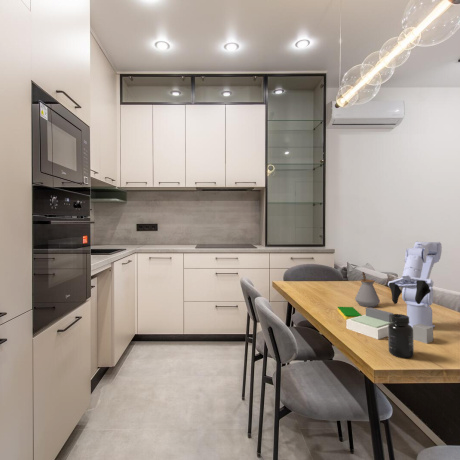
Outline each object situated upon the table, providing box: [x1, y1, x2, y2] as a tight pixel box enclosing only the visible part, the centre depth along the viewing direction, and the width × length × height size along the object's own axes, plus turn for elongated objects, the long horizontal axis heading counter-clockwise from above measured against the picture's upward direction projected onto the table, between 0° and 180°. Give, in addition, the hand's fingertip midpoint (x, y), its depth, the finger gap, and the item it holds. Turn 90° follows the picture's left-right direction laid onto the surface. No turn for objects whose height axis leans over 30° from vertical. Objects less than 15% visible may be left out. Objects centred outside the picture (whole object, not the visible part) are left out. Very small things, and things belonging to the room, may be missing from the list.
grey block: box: [413, 323, 434, 344], centre depth 100 cm, size 4×4×5 cm
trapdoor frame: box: [345, 314, 388, 340], centre depth 110 cm, size 14×13×4 cm
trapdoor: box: [352, 307, 394, 328], centre depth 110 cm, size 11×10×4 cm
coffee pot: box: [354, 271, 381, 308], centre depth 150 cm, size 21×12×15 cm, turn 162°
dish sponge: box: [337, 306, 363, 321], centre depth 129 cm, size 7×14×2 cm, turn 172°
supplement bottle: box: [387, 313, 415, 359], centre depth 89 cm, size 7×7×12 cm
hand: (405, 302), depth 99 cm, fingers open, 7 cm apart
